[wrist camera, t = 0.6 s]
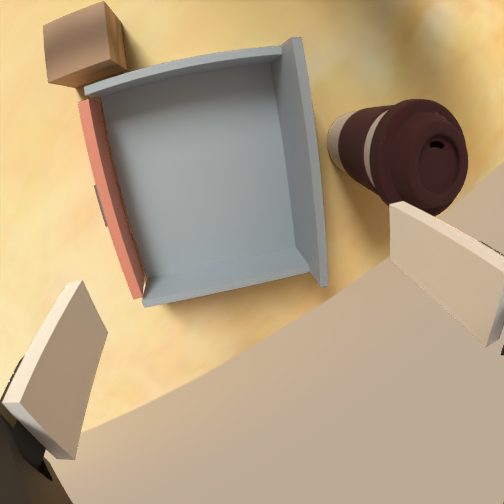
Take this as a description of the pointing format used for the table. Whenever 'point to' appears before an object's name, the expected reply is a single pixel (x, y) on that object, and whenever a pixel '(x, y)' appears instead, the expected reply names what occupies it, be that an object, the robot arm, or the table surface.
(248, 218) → the truck bed
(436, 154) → the coffee cup
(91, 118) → the panel
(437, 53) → the table surface
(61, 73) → the walnut block
